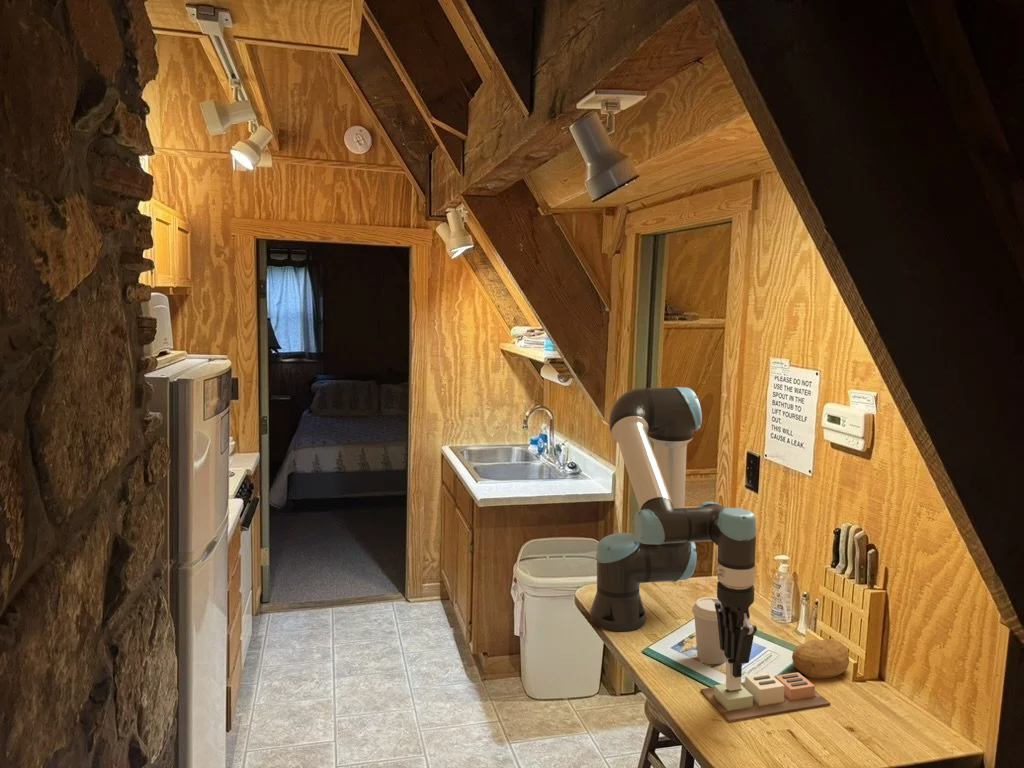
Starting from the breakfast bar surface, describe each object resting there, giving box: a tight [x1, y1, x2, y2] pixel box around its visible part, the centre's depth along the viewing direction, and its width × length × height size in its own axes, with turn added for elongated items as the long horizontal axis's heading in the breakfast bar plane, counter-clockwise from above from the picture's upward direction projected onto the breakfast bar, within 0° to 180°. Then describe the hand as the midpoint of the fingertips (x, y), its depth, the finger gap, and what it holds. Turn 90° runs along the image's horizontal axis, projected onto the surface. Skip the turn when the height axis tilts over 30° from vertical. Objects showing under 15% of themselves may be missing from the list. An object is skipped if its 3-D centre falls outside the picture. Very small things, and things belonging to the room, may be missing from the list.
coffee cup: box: [691, 596, 726, 665], centre depth 172 cm, size 10×10×15 cm
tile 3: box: [774, 671, 816, 701], centre depth 156 cm, size 6×6×4 cm
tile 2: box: [744, 672, 784, 706], centre depth 154 cm, size 6×6×4 cm
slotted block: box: [713, 683, 753, 711], centre depth 153 cm, size 6×6×4 cm
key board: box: [699, 681, 831, 723], centre depth 154 cm, size 12×24×2 cm, turn 103°
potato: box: [791, 638, 850, 679], centre depth 165 cm, size 10×14×8 cm
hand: (733, 687), depth 152 cm, fingers closed
